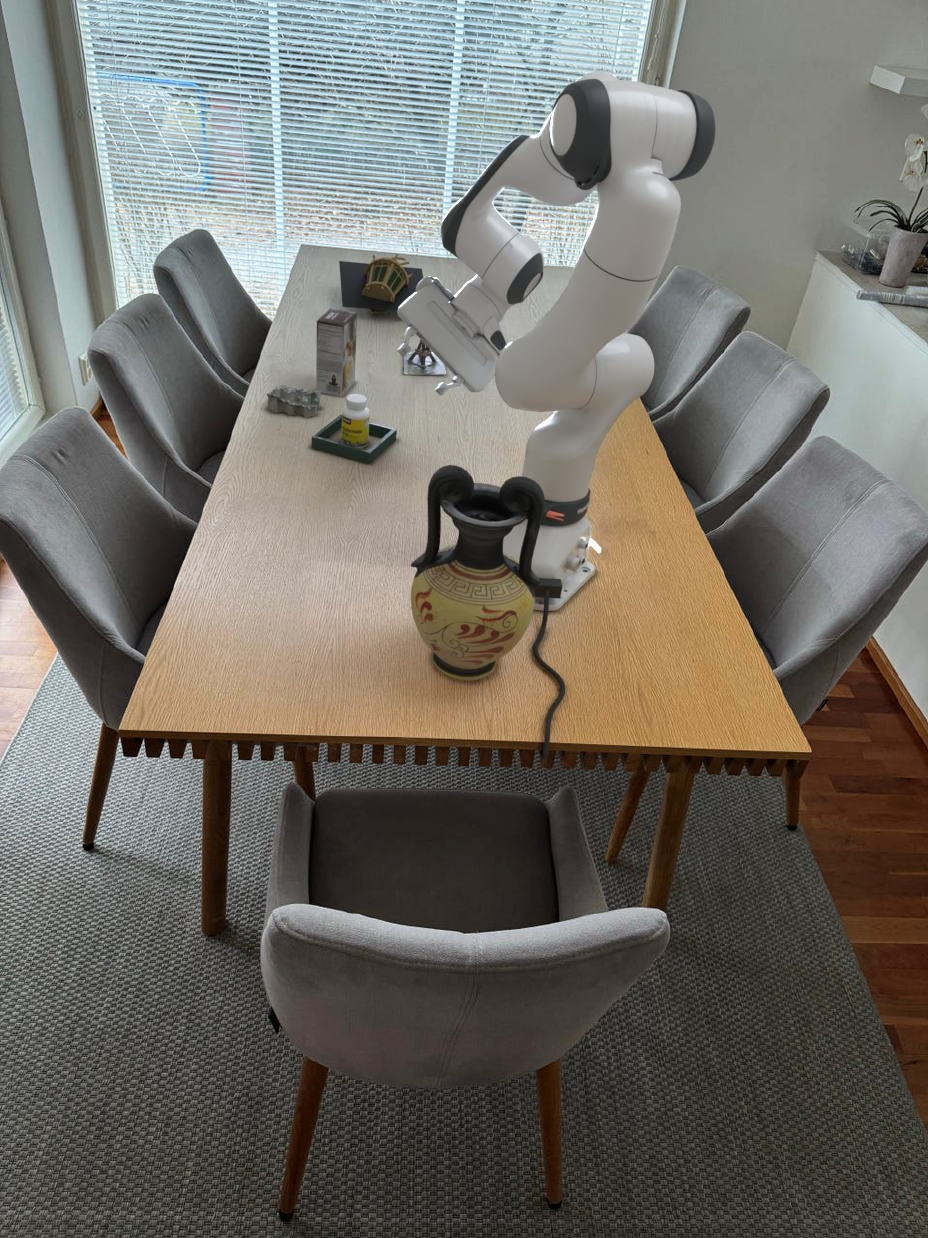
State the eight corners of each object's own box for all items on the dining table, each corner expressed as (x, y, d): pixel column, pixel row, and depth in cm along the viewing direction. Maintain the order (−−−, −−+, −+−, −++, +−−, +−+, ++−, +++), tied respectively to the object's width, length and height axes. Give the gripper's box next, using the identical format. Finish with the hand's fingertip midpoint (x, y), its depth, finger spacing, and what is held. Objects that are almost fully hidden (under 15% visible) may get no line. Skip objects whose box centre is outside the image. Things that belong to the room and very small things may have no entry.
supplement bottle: (336, 446, 185) (338, 399, 180) (347, 435, 190) (348, 389, 184) (362, 452, 184) (364, 405, 179) (372, 441, 189) (374, 395, 183)
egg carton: (264, 412, 195) (263, 393, 192) (275, 398, 201) (274, 379, 198) (314, 419, 194) (314, 401, 192) (323, 405, 200) (324, 387, 198)
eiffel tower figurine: (446, 377, 220) (452, 321, 212) (403, 374, 219) (408, 317, 211) (443, 353, 232) (448, 299, 224) (402, 350, 231) (406, 296, 223)
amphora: (519, 628, 143) (551, 450, 125) (529, 702, 129) (566, 513, 112) (404, 621, 141) (420, 439, 124) (402, 694, 128) (419, 502, 110)
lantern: (338, 330, 248) (335, 267, 266) (423, 343, 254) (414, 280, 272) (345, 285, 238) (342, 222, 256) (434, 300, 244) (424, 237, 262)
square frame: (369, 464, 181) (370, 453, 179) (311, 447, 184) (311, 436, 182) (396, 439, 191) (397, 429, 189) (340, 424, 193) (340, 414, 192)
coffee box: (328, 377, 213) (329, 306, 203) (355, 382, 212) (358, 311, 203) (315, 392, 205) (316, 319, 196) (343, 397, 205) (345, 325, 195)
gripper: (435, 267, 158) (381, 326, 157) (515, 356, 165) (464, 413, 164) (425, 272, 164) (372, 330, 163) (503, 358, 171) (453, 414, 170)
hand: (419, 373), depth 164 cm, fingers open, 8 cm apart
